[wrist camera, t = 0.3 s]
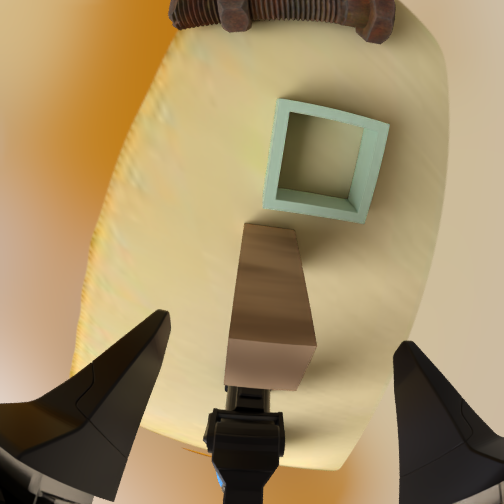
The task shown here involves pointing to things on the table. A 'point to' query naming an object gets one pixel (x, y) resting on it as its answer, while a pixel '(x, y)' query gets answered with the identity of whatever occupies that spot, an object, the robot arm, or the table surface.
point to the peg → (269, 313)
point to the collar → (317, 203)
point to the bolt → (287, 14)
